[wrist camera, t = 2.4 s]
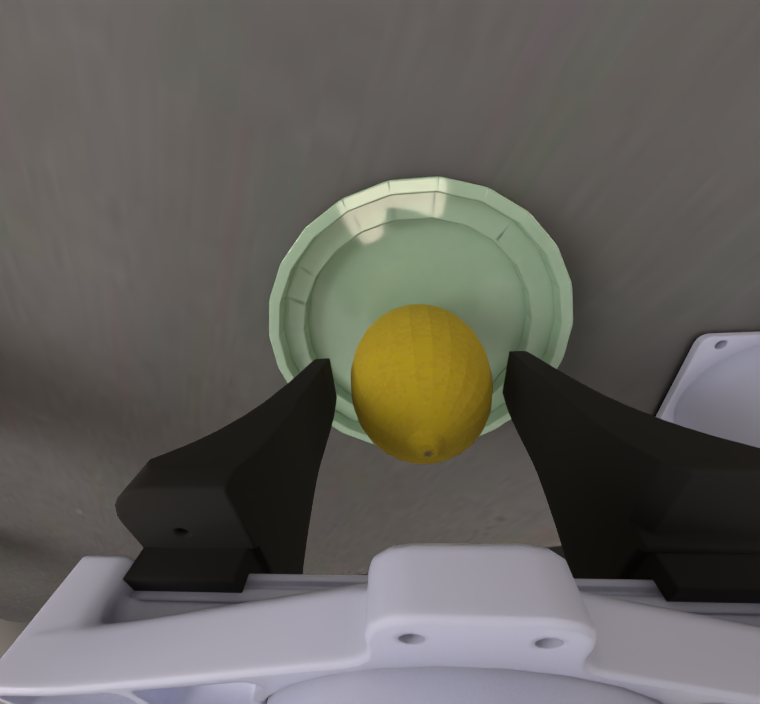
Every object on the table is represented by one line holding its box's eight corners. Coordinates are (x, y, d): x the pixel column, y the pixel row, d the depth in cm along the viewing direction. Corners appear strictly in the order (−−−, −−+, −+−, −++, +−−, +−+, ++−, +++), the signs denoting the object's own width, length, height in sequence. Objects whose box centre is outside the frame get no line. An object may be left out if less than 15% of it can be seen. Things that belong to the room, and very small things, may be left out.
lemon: (425, 390, 18) (442, 527, 11) (342, 344, 16) (303, 468, 10) (491, 318, 15) (568, 438, 8) (400, 257, 14) (403, 339, 7)
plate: (584, 162, 12) (618, 161, 10) (525, 420, 19) (539, 447, 17) (251, 190, 13) (227, 193, 11) (310, 424, 20) (302, 450, 19)
